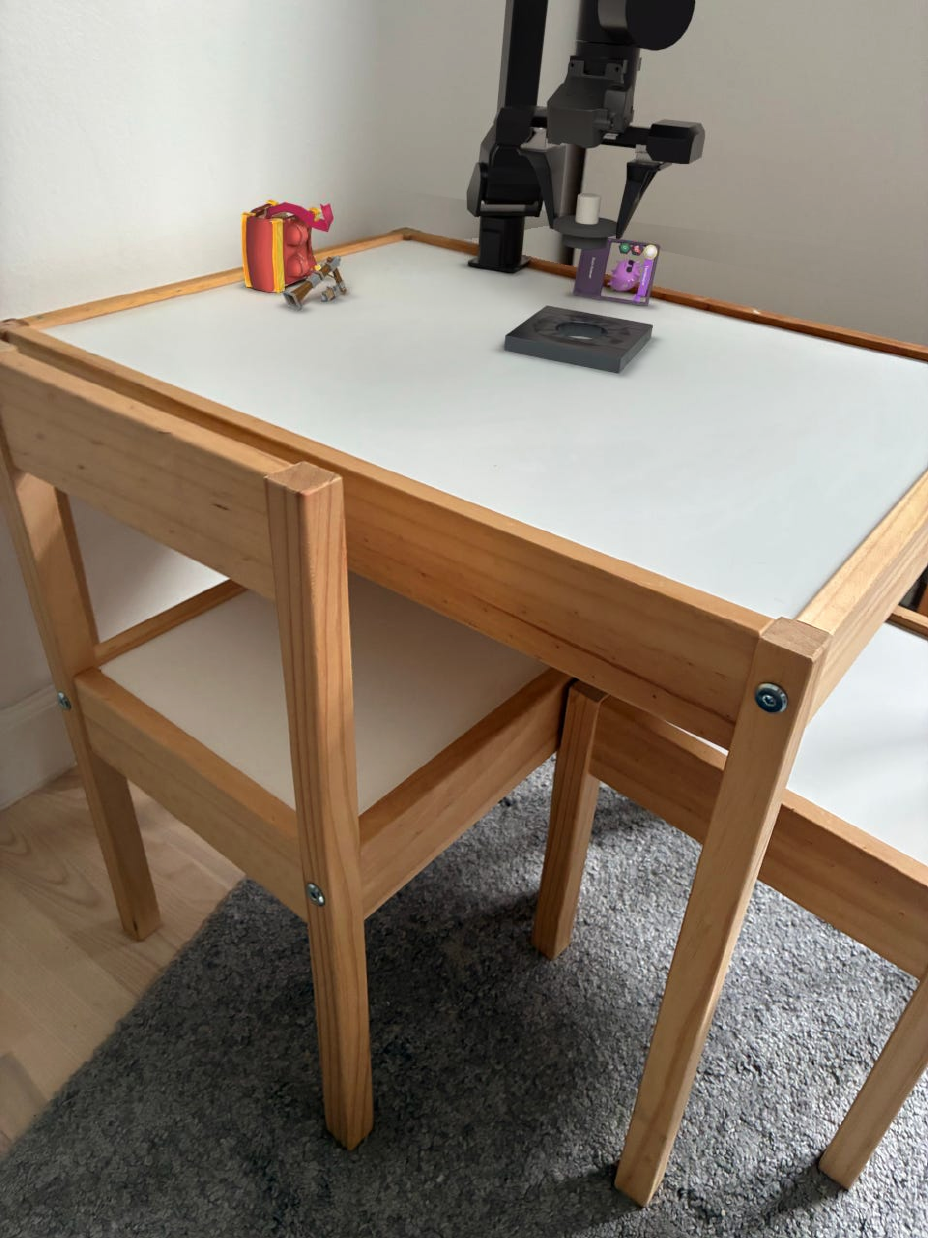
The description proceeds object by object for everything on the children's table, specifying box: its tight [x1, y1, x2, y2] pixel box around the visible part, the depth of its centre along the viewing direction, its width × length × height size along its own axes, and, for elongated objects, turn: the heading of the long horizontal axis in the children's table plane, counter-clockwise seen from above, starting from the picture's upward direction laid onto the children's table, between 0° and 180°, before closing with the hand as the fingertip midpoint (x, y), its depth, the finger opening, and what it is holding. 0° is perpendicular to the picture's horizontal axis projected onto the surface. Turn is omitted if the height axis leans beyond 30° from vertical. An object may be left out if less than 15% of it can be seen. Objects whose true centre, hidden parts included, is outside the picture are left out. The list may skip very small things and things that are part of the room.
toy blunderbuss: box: [281, 255, 348, 311], centre depth 99 cm, size 2×8×4 cm, turn 138°
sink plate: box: [503, 305, 654, 374], centre depth 92 cm, size 12×12×2 cm
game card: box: [572, 237, 661, 307], centre depth 106 cm, size 7×5×9 cm
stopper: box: [552, 192, 617, 250], centre depth 86 cm, size 6×6×4 cm
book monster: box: [240, 199, 334, 294], centre depth 101 cm, size 11×9×12 cm
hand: (585, 233), depth 87 cm, fingers closed on stopper, 6 cm apart
